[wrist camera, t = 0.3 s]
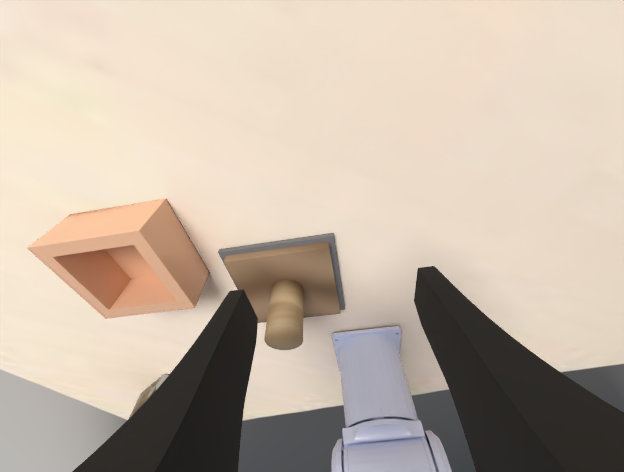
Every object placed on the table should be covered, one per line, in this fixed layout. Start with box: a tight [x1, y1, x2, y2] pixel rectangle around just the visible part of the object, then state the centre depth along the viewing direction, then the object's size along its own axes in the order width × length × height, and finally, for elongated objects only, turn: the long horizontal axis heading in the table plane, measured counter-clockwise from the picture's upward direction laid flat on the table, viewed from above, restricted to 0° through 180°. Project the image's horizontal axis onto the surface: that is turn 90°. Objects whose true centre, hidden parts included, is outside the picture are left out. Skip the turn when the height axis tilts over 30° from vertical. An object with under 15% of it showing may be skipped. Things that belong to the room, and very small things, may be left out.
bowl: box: [27, 199, 209, 319], centre depth 21 cm, size 8×8×4 cm
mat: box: [218, 233, 345, 310], centre depth 25 cm, size 10×10×1 cm
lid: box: [224, 242, 340, 350], centre depth 23 cm, size 9×9×6 cm
